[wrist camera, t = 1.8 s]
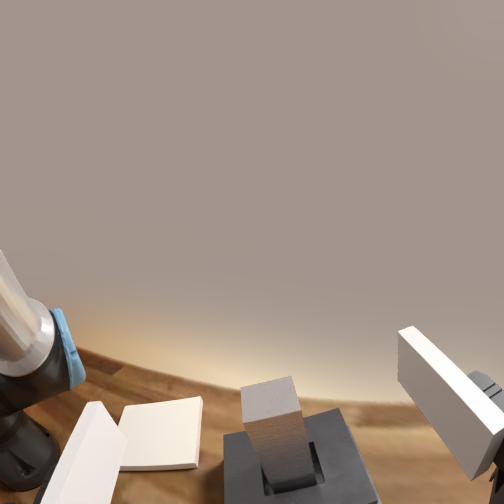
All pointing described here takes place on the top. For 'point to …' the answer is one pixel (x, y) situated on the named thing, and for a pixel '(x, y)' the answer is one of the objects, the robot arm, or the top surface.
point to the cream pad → (162, 435)
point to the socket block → (324, 462)
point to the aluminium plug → (278, 434)
